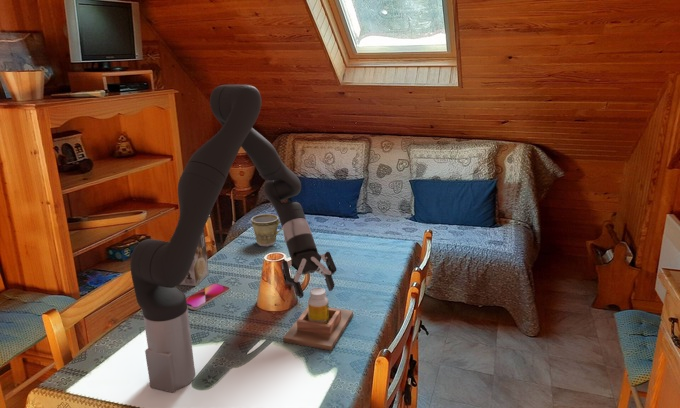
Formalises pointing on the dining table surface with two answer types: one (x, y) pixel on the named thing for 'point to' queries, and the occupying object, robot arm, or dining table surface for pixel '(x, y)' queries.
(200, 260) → the coffee box
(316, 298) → the supplement bottle
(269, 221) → the ceramic cup
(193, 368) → the robot arm
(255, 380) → the dining table surface
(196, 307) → the smartphone
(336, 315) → the socket board
